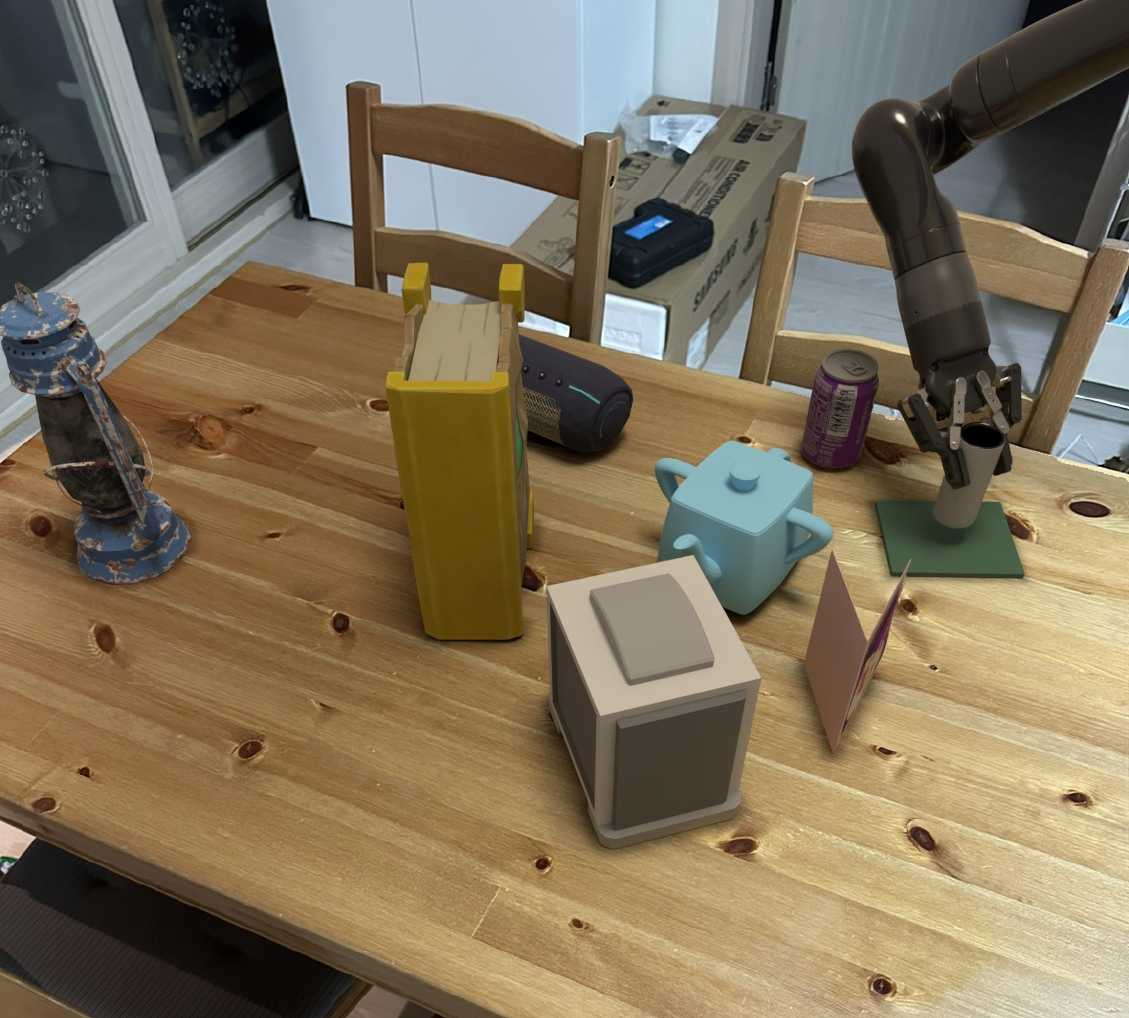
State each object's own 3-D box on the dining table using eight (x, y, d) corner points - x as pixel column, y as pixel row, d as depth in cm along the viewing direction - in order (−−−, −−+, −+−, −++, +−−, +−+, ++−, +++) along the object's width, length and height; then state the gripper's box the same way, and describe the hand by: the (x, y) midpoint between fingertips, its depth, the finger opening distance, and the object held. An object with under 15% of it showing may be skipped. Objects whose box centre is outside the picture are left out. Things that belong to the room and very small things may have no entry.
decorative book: (525, 644, 108) (510, 380, 84) (418, 641, 108) (372, 378, 84) (537, 517, 120) (527, 255, 96) (440, 515, 120) (406, 254, 97)
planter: (928, 501, 116) (955, 420, 108) (970, 502, 116) (1000, 421, 107) (936, 529, 113) (964, 448, 105) (979, 529, 113) (1010, 448, 105)
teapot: (646, 524, 119) (651, 421, 108) (790, 516, 119) (810, 413, 109) (665, 641, 108) (674, 539, 97) (825, 632, 108) (851, 529, 98)
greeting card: (841, 757, 98) (877, 644, 86) (767, 727, 101) (792, 614, 89) (882, 677, 104) (920, 561, 93) (811, 650, 107) (840, 535, 95)
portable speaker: (428, 408, 133) (419, 334, 125) (477, 370, 138) (471, 297, 130) (594, 478, 124) (595, 403, 116) (640, 435, 129) (643, 361, 121)
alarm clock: (744, 815, 94) (774, 678, 80) (603, 852, 92) (608, 717, 78) (672, 670, 105) (688, 525, 91) (545, 699, 103) (540, 556, 89)
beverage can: (872, 459, 126) (896, 368, 116) (828, 481, 123) (849, 390, 114) (831, 430, 129) (851, 339, 120) (787, 450, 127) (804, 359, 117)
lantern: (48, 542, 118) (-85, 283, 95) (142, 490, 124) (38, 233, 100) (125, 607, 112) (3, 346, 88) (221, 549, 117) (130, 288, 94)
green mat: (998, 505, 120) (1000, 501, 120) (1023, 578, 113) (1025, 574, 112) (874, 504, 121) (875, 499, 120) (890, 576, 113) (892, 571, 113)
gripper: (904, 317, 100) (948, 494, 103) (1025, 283, 104) (1064, 454, 107) (860, 341, 107) (902, 505, 110) (974, 308, 111) (1012, 468, 114)
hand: (982, 479), depth 108 cm, fingers closed on planter, 4 cm apart
